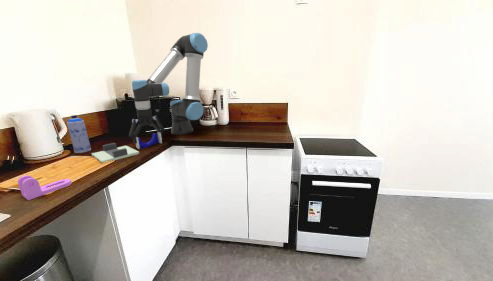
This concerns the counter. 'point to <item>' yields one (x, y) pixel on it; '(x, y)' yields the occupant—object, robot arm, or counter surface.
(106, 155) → the board
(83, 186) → the counter surface
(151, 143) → the cable clip
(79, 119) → the aerosol can
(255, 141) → the counter surface
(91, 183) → the counter surface
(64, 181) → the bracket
